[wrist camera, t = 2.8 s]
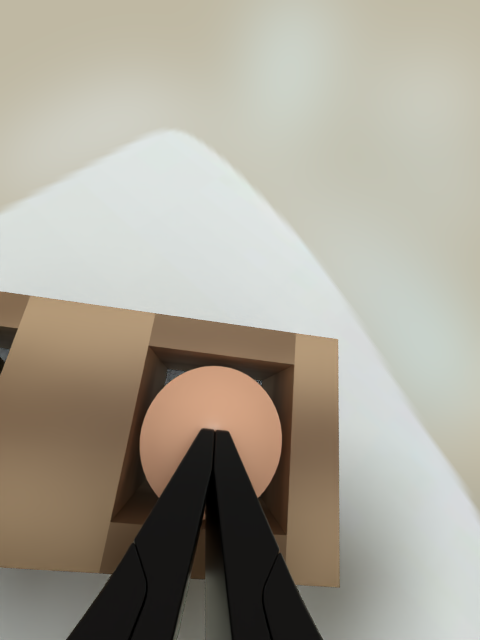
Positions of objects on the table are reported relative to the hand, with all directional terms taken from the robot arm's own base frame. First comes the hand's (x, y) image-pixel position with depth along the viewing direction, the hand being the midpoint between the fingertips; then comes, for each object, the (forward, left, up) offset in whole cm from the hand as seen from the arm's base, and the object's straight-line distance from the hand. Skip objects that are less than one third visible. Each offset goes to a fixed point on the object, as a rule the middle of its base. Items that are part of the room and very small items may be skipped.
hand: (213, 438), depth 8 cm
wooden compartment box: (-4, +3, -7) cm, 9 cm away
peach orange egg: (0, 0, -5) cm, 5 cm away
